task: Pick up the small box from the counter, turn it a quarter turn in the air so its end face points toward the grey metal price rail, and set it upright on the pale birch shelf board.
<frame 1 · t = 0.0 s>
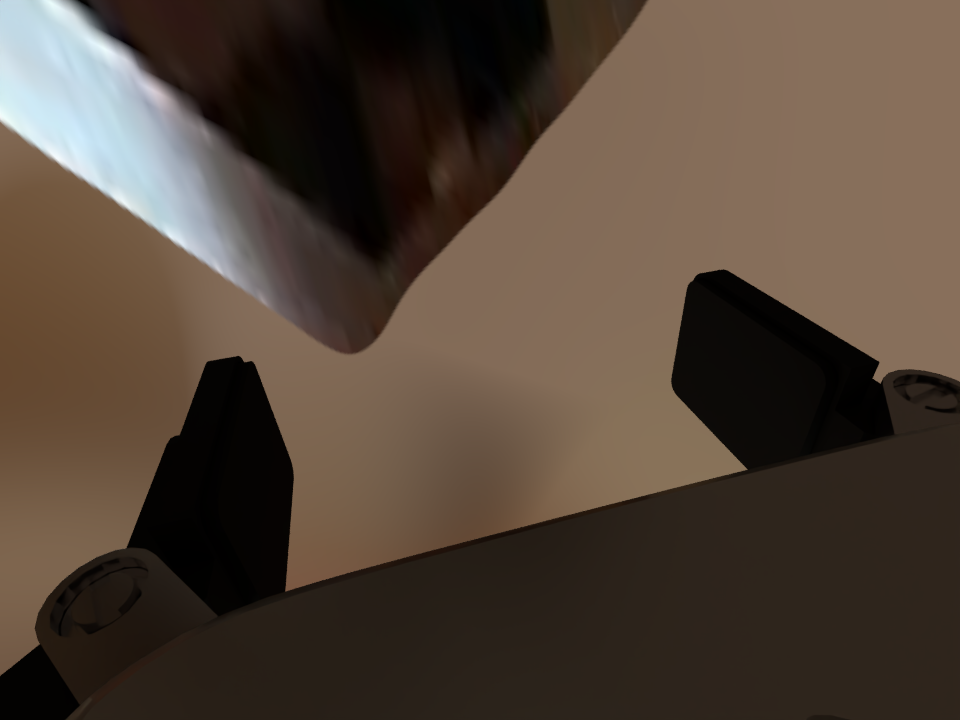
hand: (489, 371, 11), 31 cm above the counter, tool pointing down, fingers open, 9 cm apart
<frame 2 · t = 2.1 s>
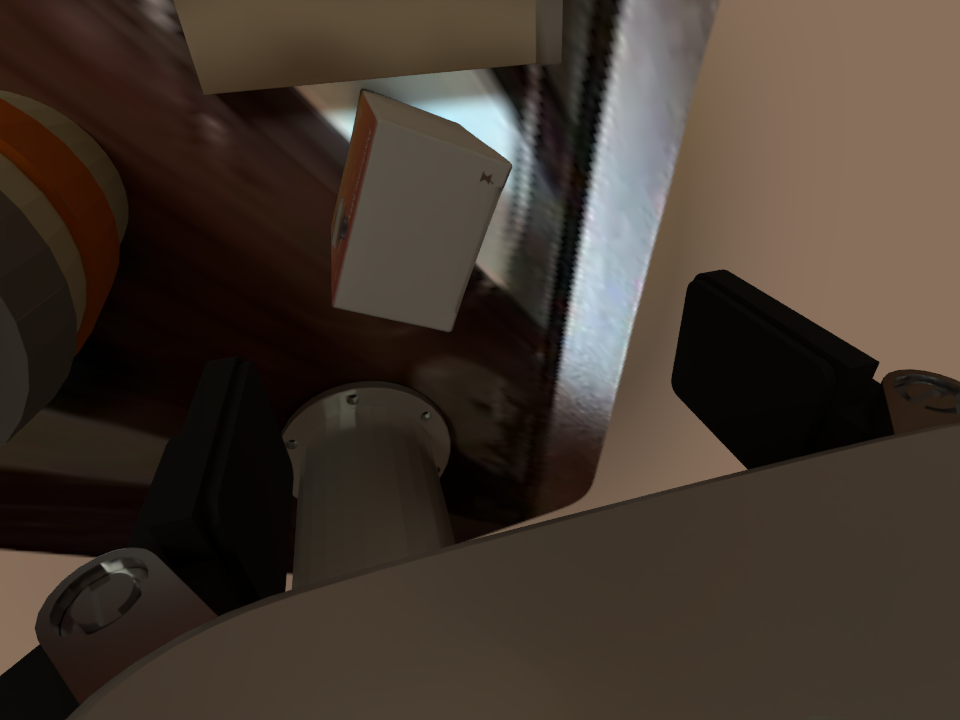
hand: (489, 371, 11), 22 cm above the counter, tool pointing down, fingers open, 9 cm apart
small box: (392, 177, 30), on the counter
reusable coffee cup: (25, 188, 26), on the counter
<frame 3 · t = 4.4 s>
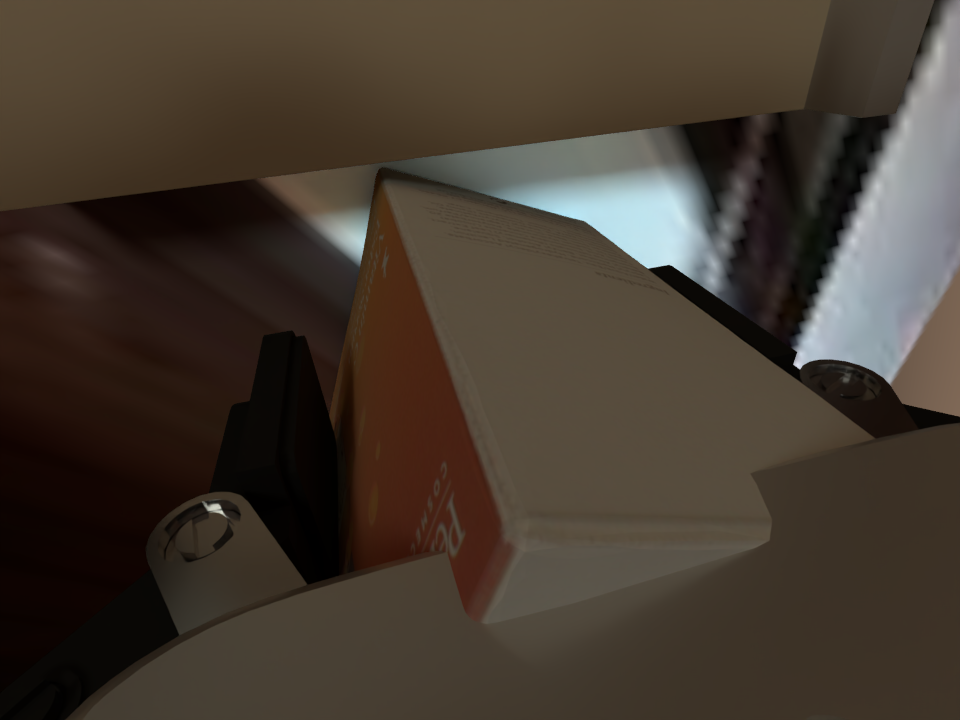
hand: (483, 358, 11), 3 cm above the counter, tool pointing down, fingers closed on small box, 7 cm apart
small box: (445, 329, 15), on the counter, touching gripper
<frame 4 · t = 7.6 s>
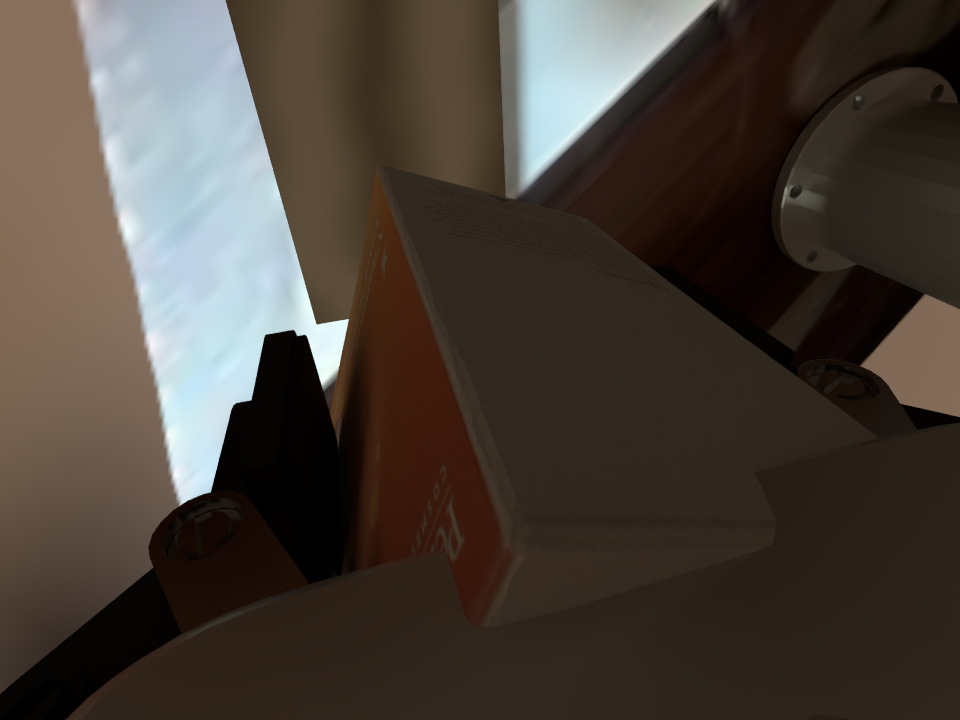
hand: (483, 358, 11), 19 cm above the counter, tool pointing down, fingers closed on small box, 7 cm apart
small box: (445, 327, 15), point 16 cm above the counter, touching gripper
shelf board: (389, 150, 26), on the counter
when the fingers open (6 cm above the counter, at t = 10.9 s): small box drops 1 cm, resting on shelf board.
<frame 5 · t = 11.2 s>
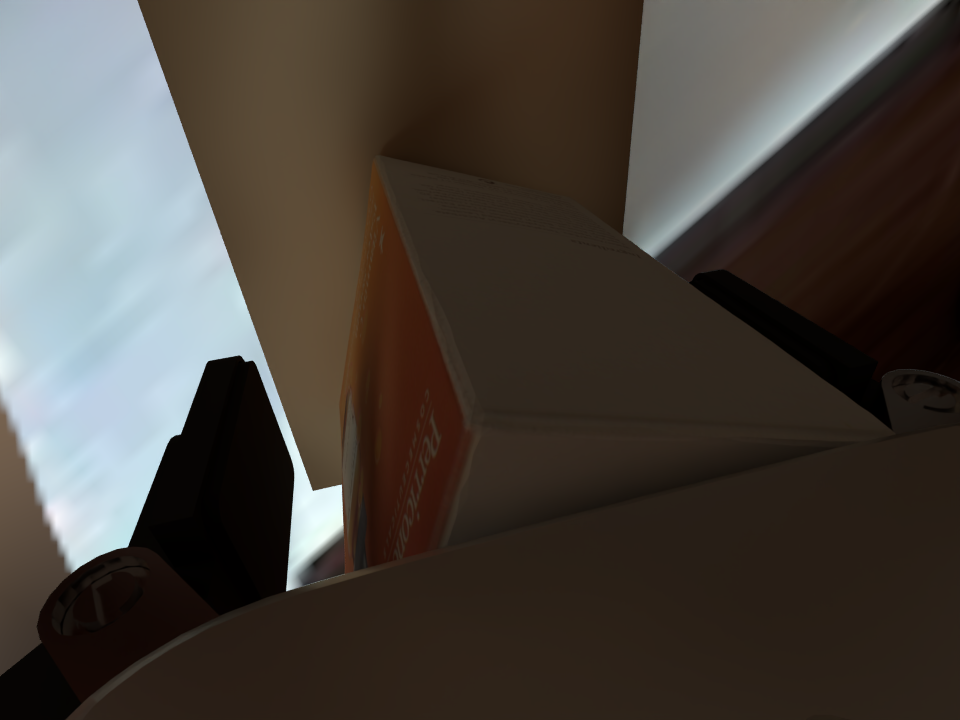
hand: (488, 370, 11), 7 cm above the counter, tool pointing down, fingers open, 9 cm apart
small box: (444, 305, 16), point 2 cm above the counter, touching shelf board
shelf board: (431, 226, 16), on the counter
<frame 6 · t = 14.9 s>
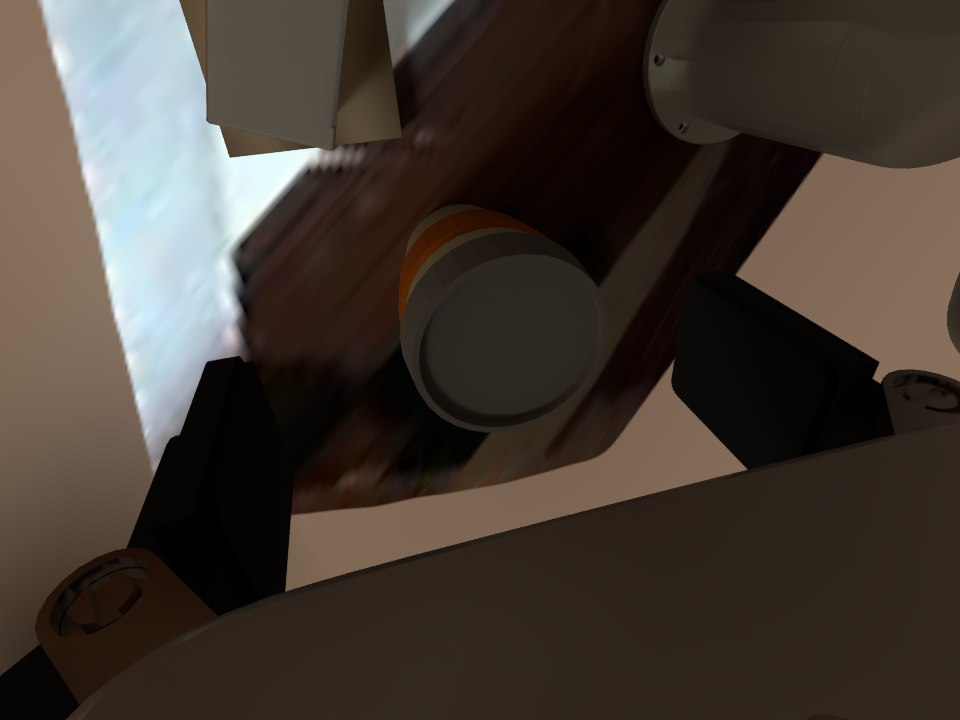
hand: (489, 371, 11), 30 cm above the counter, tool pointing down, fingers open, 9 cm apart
small box: (291, 36, 30), point 2 cm above the counter, touching shelf board
reusable coffee cup: (459, 257, 42), on the counter
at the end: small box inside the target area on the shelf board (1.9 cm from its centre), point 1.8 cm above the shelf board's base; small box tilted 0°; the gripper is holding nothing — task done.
